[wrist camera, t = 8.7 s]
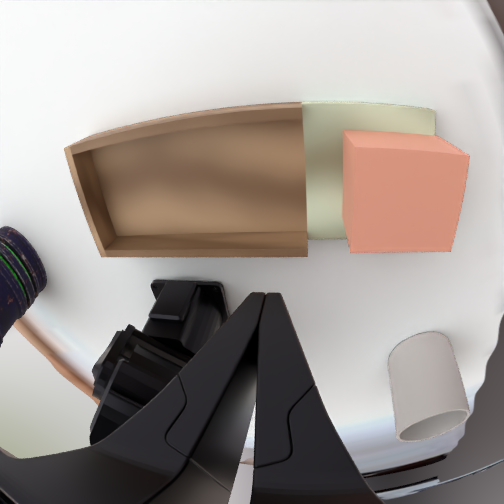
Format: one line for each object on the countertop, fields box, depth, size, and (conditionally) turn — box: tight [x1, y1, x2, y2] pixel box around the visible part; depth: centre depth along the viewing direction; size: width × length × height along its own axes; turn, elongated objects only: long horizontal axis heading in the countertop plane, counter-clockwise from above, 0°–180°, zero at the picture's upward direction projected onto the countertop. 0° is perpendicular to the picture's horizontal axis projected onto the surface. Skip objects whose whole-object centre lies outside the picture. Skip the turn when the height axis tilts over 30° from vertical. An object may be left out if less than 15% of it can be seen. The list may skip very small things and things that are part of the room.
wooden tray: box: [64, 102, 436, 257], centre depth 17 cm, size 9×23×3 cm, turn 96°
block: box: [342, 130, 470, 253], centre depth 14 cm, size 6×6×4 cm
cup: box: [388, 332, 470, 442], centre depth 23 cm, size 7×10×9 cm
